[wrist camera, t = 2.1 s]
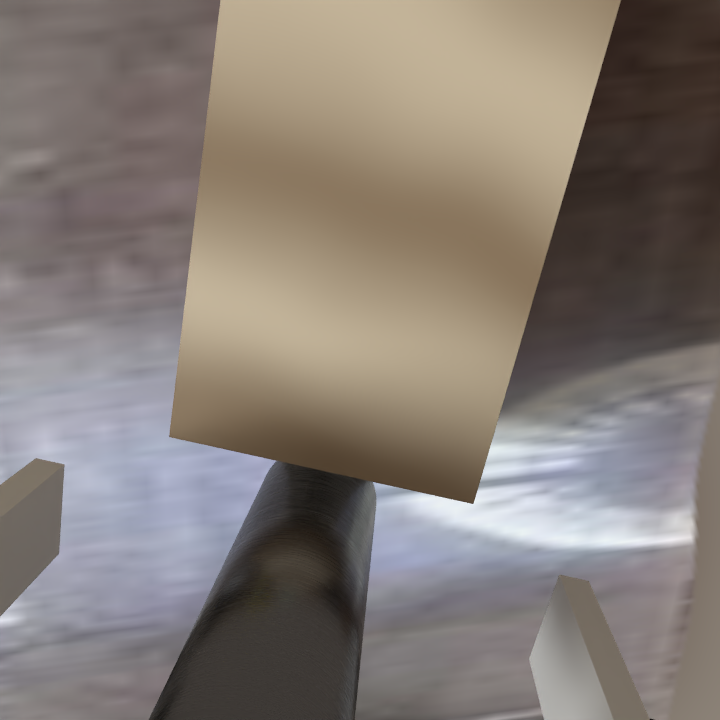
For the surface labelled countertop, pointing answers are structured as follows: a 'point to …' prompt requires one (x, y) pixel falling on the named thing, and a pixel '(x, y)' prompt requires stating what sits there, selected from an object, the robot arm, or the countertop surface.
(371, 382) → the block
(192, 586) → the countertop surface
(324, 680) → the grey l-shaped piece
